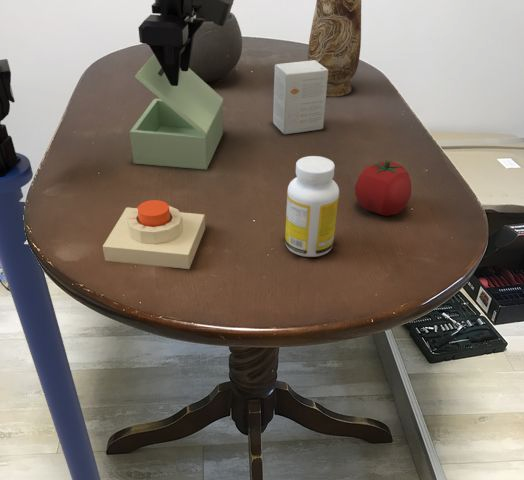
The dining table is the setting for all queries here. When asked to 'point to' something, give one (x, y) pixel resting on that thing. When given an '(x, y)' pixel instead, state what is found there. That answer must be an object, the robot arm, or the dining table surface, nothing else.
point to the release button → (153, 213)
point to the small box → (299, 96)
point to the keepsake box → (173, 139)
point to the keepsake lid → (182, 94)
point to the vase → (336, 42)
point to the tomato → (383, 188)
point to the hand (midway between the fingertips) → (179, 78)
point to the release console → (155, 240)
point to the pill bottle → (311, 207)
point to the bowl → (215, 48)
